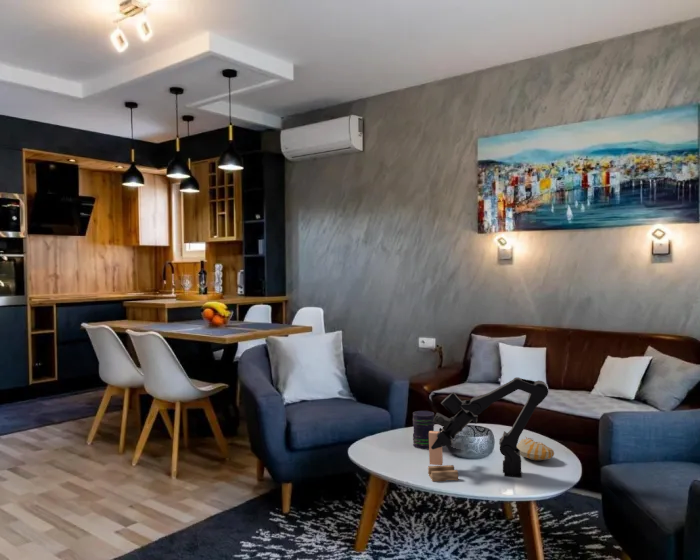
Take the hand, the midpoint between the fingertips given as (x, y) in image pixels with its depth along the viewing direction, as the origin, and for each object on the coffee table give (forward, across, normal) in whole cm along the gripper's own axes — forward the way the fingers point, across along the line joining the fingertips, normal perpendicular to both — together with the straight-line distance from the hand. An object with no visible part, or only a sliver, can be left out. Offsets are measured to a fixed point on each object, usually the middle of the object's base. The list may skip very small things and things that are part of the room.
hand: (432, 447), depth 232 cm
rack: (+2, +9, +10) cm, 14 cm away
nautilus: (-22, -23, +35) cm, 47 cm away
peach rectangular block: (+4, 0, +6) cm, 7 cm away
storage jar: (+11, -28, +1) cm, 30 cm away
